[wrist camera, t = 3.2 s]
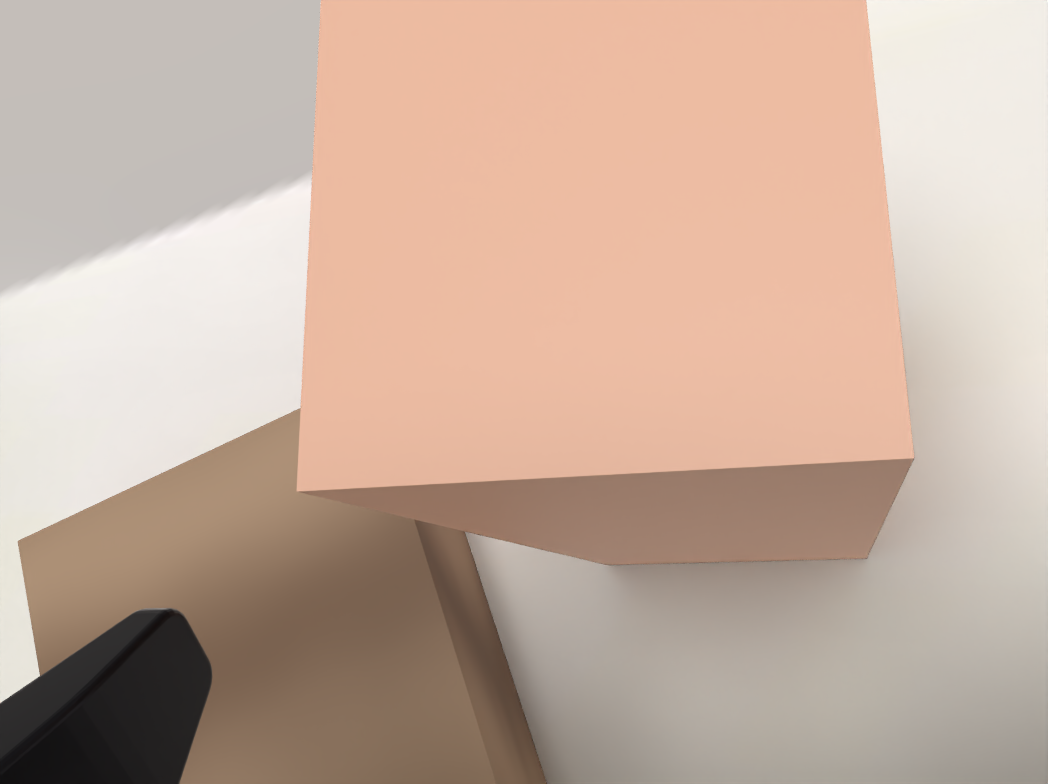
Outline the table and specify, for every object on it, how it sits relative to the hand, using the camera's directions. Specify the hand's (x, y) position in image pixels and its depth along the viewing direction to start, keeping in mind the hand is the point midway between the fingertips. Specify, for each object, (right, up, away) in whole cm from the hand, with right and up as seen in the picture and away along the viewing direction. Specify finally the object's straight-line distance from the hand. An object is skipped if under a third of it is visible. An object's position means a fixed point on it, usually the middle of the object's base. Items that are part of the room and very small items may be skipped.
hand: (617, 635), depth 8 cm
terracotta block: (+3, +1, +11) cm, 11 cm away
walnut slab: (-6, -4, +13) cm, 15 cm away
